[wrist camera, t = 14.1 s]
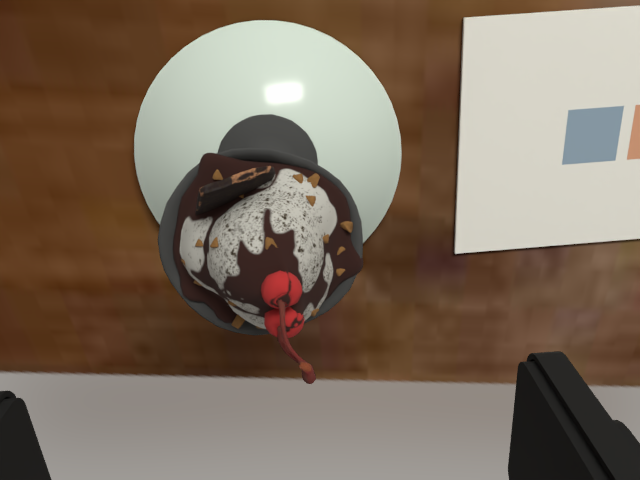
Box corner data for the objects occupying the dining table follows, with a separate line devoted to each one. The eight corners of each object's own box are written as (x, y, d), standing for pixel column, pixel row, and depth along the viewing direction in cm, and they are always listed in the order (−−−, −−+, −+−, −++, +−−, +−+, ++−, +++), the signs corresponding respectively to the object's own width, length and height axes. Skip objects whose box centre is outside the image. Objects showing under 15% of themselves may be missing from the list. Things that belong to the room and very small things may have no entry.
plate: (398, 10, 26) (401, 10, 25) (399, 264, 31) (401, 269, 31) (111, 29, 25) (107, 30, 25) (162, 284, 31) (160, 289, 30)
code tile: (820, -7, 27) (823, -7, 26) (755, 227, 32) (758, 228, 31) (463, 17, 26) (464, 17, 26) (453, 252, 31) (454, 253, 31)
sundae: (313, 242, 30) (343, 454, 16) (185, 207, 28) (97, 404, 15) (355, 120, 27) (433, 246, 13) (217, 77, 26) (149, 166, 12)
